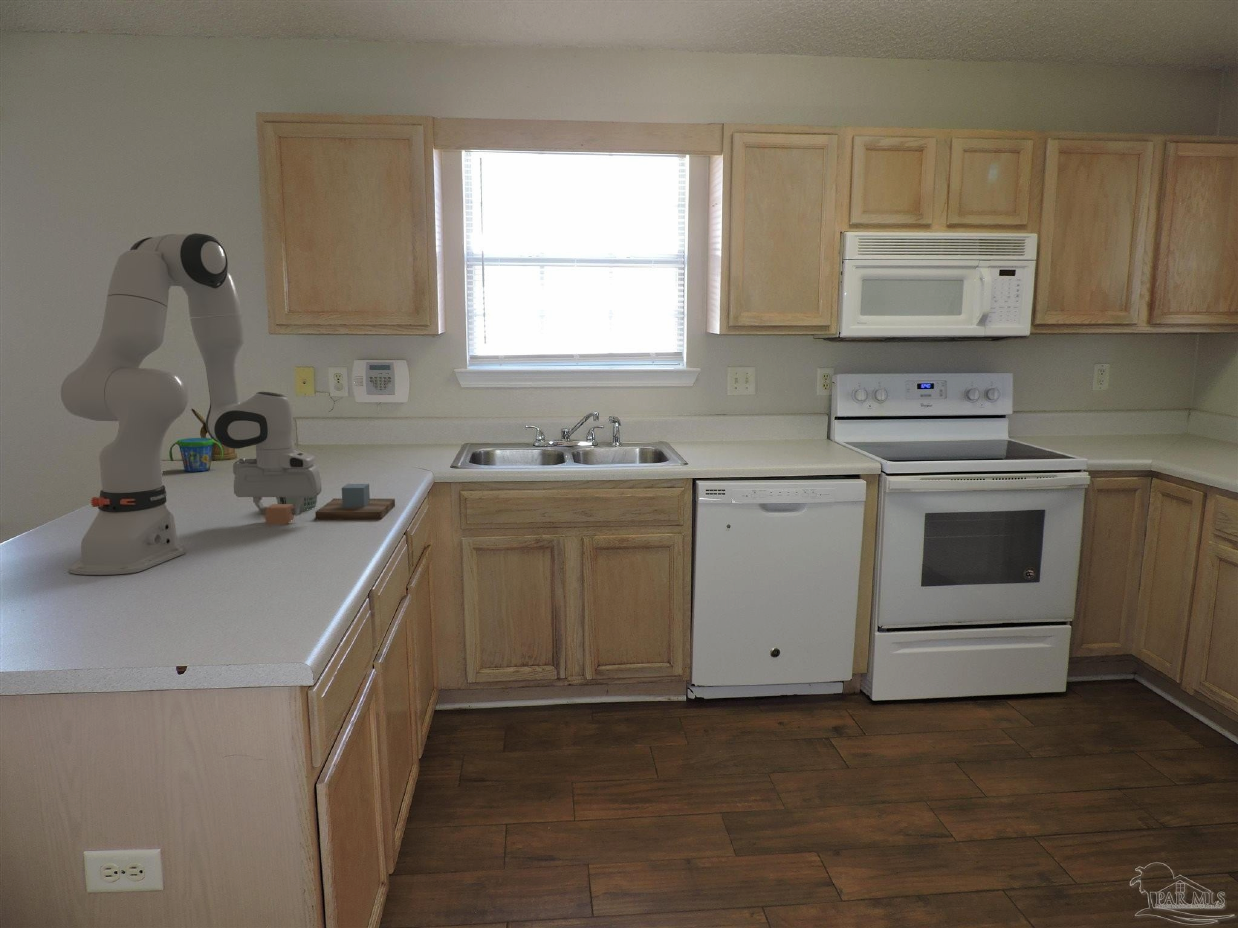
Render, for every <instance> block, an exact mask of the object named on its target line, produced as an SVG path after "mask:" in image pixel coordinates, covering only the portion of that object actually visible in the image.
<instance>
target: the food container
mask: <svg viewBox="0 0 1238 928" xmlns="http://www.w3.org/2000/svg"><path fill="white" fill-rule="evenodd" d="M275 499H276V504H293V507H295V506H296V504H297V502H298V501H295V497H275ZM317 502H318V496H316V497H304V500H303V502H302V504H301V506H300V512H304V511H303V510H306V511H308V510H307V509H311V510H313V509H312V508H314V509H316V508H317ZM315 507H316V508H315Z"/></svg>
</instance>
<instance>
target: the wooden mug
mask: <svg viewBox="0 0 1238 928" xmlns="http://www.w3.org/2000/svg"><path fill="white" fill-rule="evenodd" d="M191 413H193V415H194V416H195V418H197V420H199V422H200V423H201V424H202V426H201V428H200V431H199V434H200V438H207V434H208V432H207V430H206V419H205V418H204V417H203V416H202V415H201V414H200V413H199V412H198V411H197V410H196V409H194V408H191ZM214 441H215V440H214ZM219 444H220V443H219ZM220 445H221V446H222V449H223V457H222V460H221V459H220V458H221V449H220V447H219V446H218V445H217V444H216V443H214V444H213V449H212V455H211V461H231V460H235V459H238V455H237V453H236V449H232V448H228V447H225V446H224V445H222V444H220ZM230 459H231V460H230Z"/></svg>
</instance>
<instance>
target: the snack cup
mask: <svg viewBox="0 0 1238 928" xmlns="http://www.w3.org/2000/svg"><path fill="white" fill-rule="evenodd" d="M214 443H216V444H217V445H218V446H219V447H220V449H221V458H220V459H221V460H220V461H223V460H222V457H223V449H222V446H221V445H220V444H219V443H218V442H216V441H214V440H213V439H212V438H211V437H206V438H201V437H189V438H188V437H187V438H186V437H185V438H180V439H178V440H177V441H175V442H174V443H173V444H171V446H170V447H169V454H168V455H169V459H170V461H171V462H173V461H174V458H173V447H174V446H175V445H177V446H178V447H179V452H180V457H181V460H182V464H183V468H184V471H186V472H190V473H194V472H195V473H198V472H207V471H209V470H211V463H212V460H211V455H212V449H213V444H214Z"/></svg>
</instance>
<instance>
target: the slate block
mask: <svg viewBox="0 0 1238 928" xmlns="http://www.w3.org/2000/svg"><path fill="white" fill-rule="evenodd" d="M370 495H371V494H370V483H347V484H345V485H344V486H342V487H341V499H342V507H365V506H367V505H368V504H369V503H370V499H371V496H370Z"/></svg>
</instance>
